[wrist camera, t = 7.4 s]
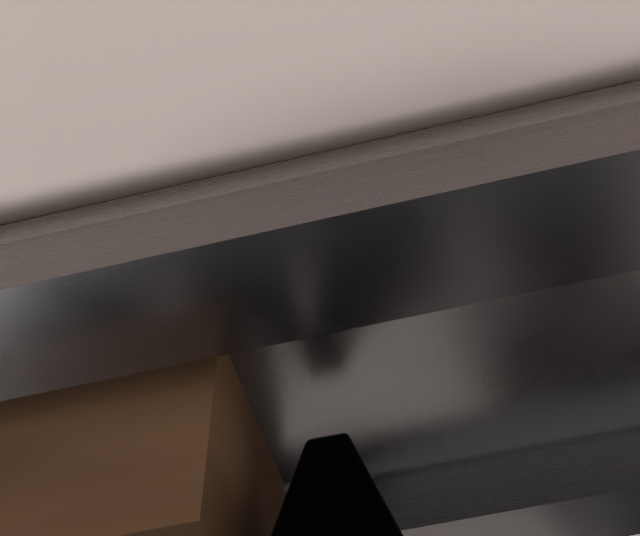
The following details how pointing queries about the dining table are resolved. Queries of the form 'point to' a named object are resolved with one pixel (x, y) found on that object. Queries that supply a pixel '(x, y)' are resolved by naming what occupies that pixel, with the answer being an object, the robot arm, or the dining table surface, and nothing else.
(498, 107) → the dining table surface
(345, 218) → the rail bed
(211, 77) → the dining table surface
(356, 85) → the dining table surface
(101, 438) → the tan wooden brick
